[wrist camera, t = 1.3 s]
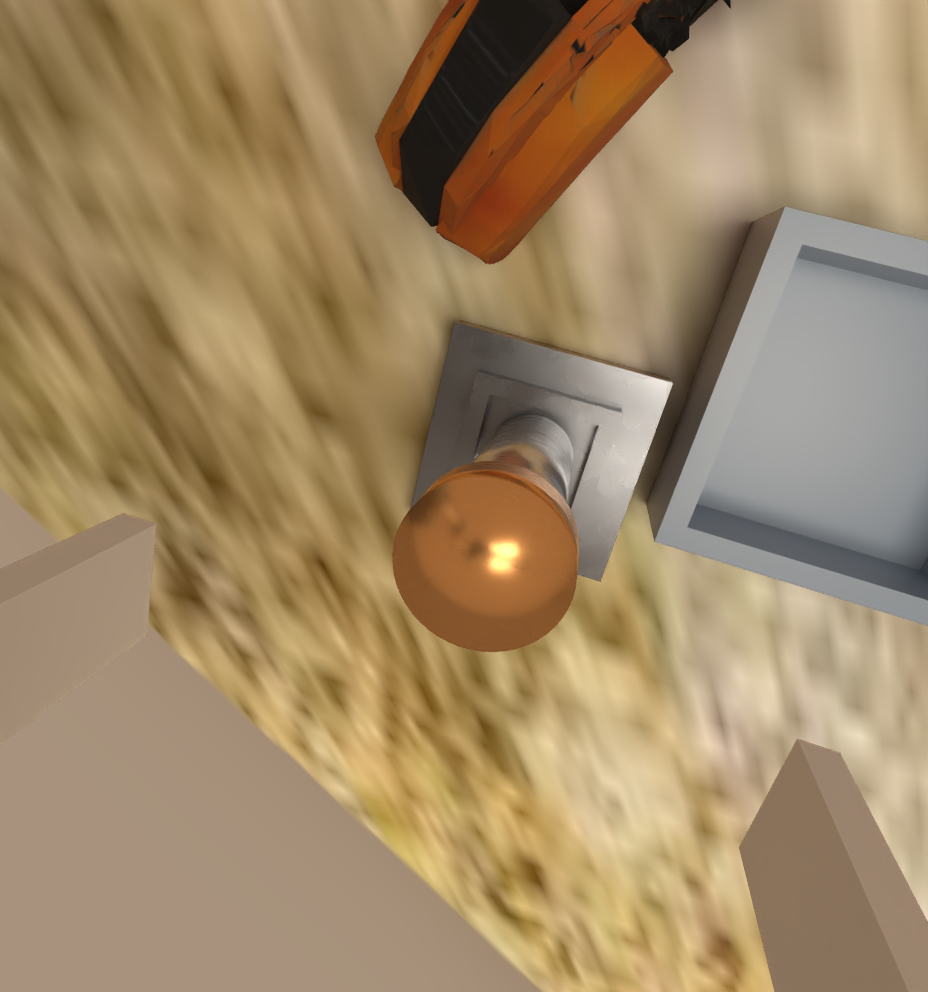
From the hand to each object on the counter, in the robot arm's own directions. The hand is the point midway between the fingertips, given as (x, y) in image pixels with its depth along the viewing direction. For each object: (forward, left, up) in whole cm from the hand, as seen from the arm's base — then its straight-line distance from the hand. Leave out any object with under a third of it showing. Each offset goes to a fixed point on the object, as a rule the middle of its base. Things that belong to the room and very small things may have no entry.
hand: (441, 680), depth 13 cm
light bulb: (0, 0, -18) cm, 18 cm away
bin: (+12, +6, -20) cm, 24 cm away
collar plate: (0, 0, -20) cm, 20 cm away
